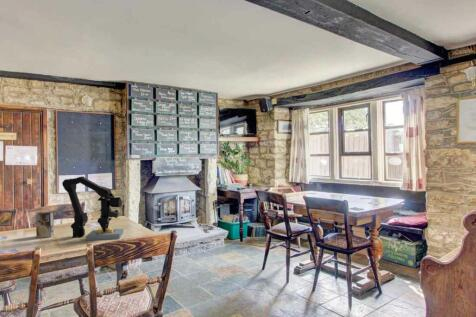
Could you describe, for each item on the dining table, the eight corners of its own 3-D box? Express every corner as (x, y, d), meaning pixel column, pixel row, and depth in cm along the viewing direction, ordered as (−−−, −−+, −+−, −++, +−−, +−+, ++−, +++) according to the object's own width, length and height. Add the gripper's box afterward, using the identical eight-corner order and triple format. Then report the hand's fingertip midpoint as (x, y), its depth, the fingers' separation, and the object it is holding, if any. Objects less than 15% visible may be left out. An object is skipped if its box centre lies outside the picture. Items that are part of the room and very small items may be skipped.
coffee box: (54, 234, 219) (54, 211, 218) (51, 237, 212) (50, 213, 212) (39, 235, 217) (39, 212, 217) (35, 238, 211) (35, 213, 210)
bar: (97, 236, 211) (97, 229, 211) (99, 234, 215) (99, 228, 215) (111, 235, 212) (111, 229, 212) (113, 233, 216) (113, 228, 216)
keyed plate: (86, 240, 204) (86, 235, 204) (92, 234, 220) (92, 230, 219) (119, 238, 208) (119, 234, 208) (123, 232, 223) (123, 228, 223)
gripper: (115, 209, 206) (115, 233, 206) (120, 204, 224) (120, 226, 224) (97, 209, 204) (97, 234, 204) (103, 205, 222) (103, 227, 222)
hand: (105, 230), depth 214 cm, fingers open, 7 cm apart
